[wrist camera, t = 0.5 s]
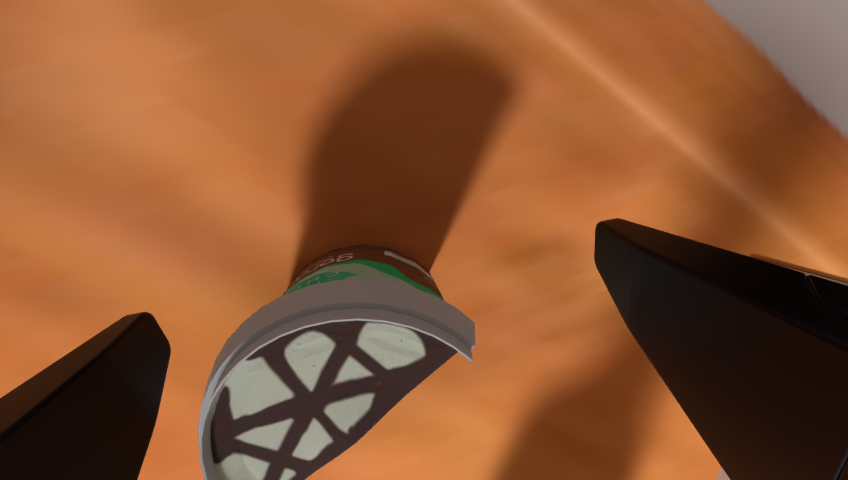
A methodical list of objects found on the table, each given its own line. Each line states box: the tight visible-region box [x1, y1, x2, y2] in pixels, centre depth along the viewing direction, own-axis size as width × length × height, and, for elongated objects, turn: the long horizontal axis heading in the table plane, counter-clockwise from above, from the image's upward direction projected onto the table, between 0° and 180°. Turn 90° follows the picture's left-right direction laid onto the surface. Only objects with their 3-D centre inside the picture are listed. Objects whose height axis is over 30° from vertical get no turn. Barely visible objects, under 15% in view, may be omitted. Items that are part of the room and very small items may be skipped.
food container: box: [198, 245, 475, 480], centre depth 21 cm, size 12×6×10 cm, turn 133°
